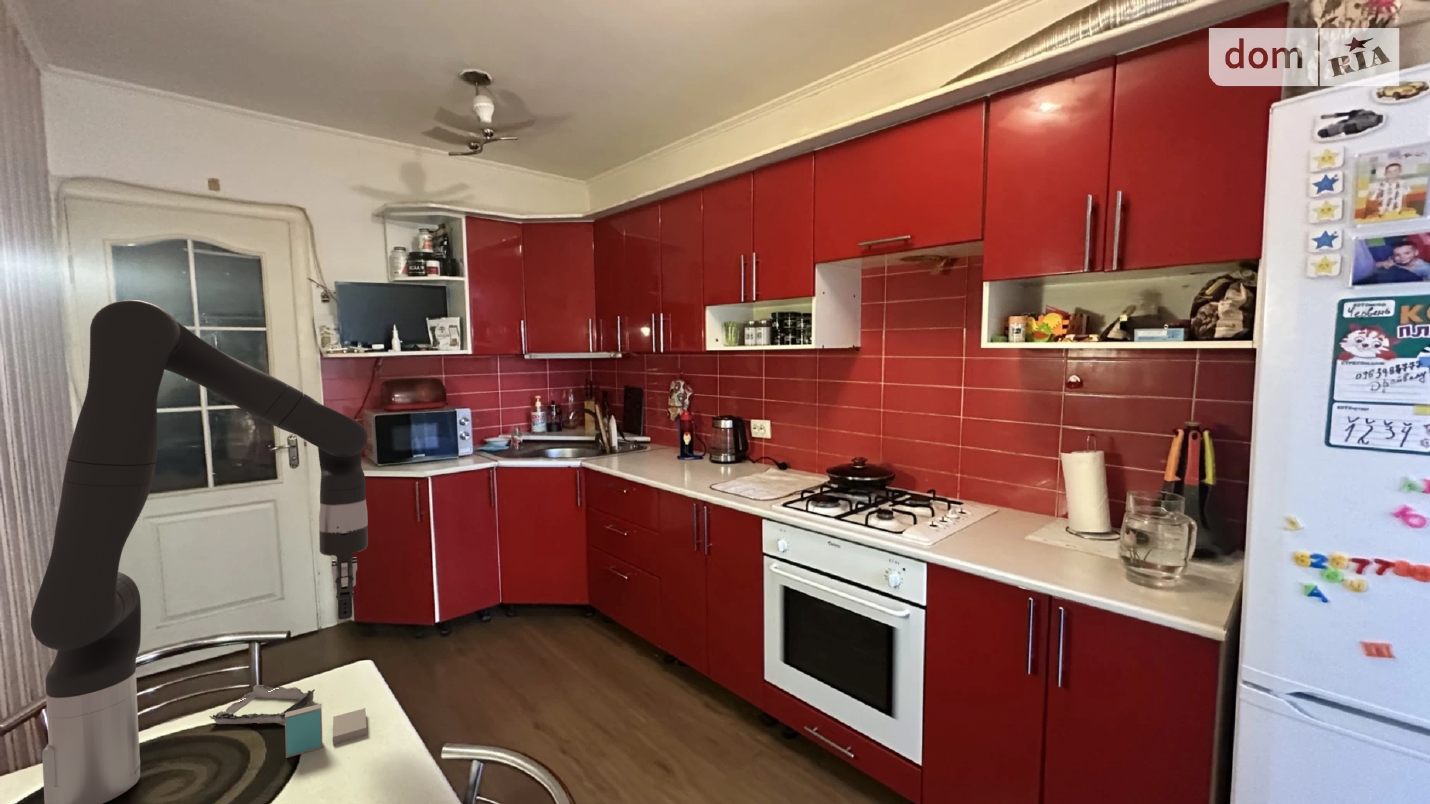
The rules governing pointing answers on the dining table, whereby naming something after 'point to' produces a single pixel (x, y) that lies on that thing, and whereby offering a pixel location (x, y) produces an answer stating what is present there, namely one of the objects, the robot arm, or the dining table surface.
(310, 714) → the beige flat slab
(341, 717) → the beige rectangular block
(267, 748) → the dining table surface
